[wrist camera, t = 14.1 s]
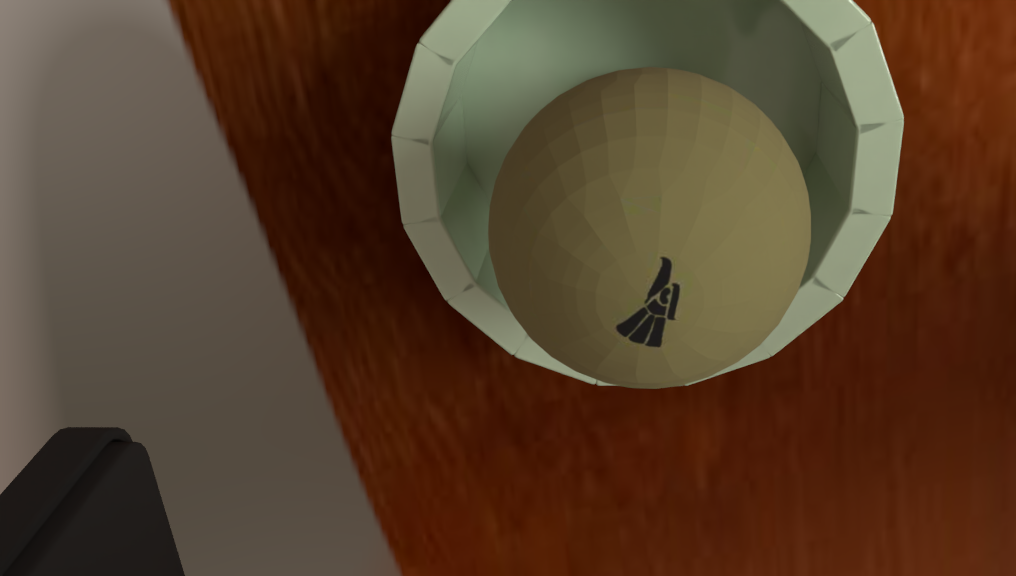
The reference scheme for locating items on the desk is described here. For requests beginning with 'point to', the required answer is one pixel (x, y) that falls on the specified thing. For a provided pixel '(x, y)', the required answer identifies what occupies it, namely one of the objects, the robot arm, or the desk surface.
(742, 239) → the light bulb
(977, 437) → the desk surface
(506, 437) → the desk surface
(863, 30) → the bowl
